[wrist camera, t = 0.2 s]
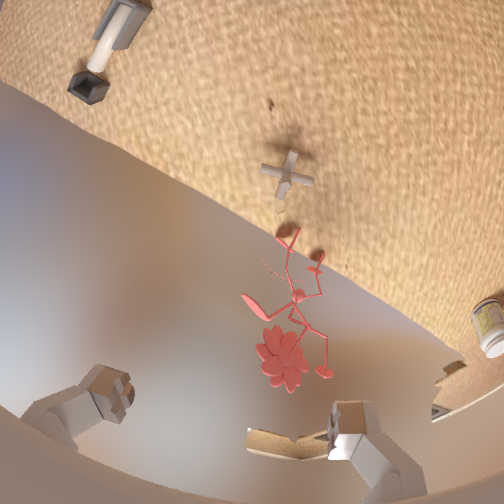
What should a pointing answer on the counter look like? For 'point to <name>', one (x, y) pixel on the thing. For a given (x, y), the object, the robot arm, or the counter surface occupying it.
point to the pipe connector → (287, 174)
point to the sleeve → (129, 27)
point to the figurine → (287, 338)
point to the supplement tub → (489, 327)
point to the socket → (88, 87)
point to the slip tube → (109, 38)
